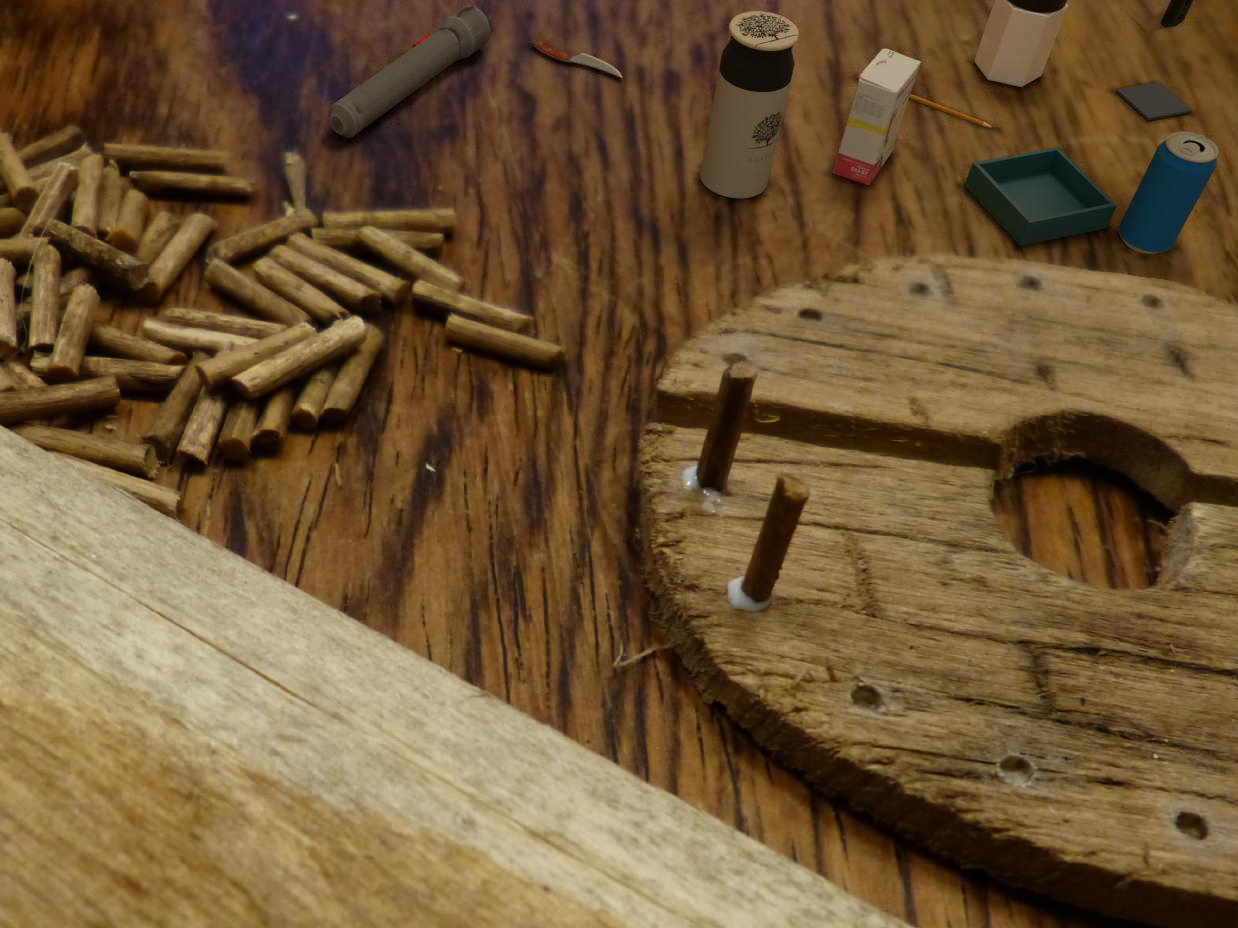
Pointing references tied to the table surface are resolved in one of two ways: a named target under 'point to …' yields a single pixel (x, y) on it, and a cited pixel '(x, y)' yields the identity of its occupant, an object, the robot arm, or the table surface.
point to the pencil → (947, 110)
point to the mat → (1153, 101)
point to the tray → (1039, 196)
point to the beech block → (1147, 13)
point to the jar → (1019, 39)
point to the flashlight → (411, 71)
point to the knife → (575, 58)
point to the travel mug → (749, 104)
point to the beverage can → (1168, 192)
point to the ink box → (875, 115)
